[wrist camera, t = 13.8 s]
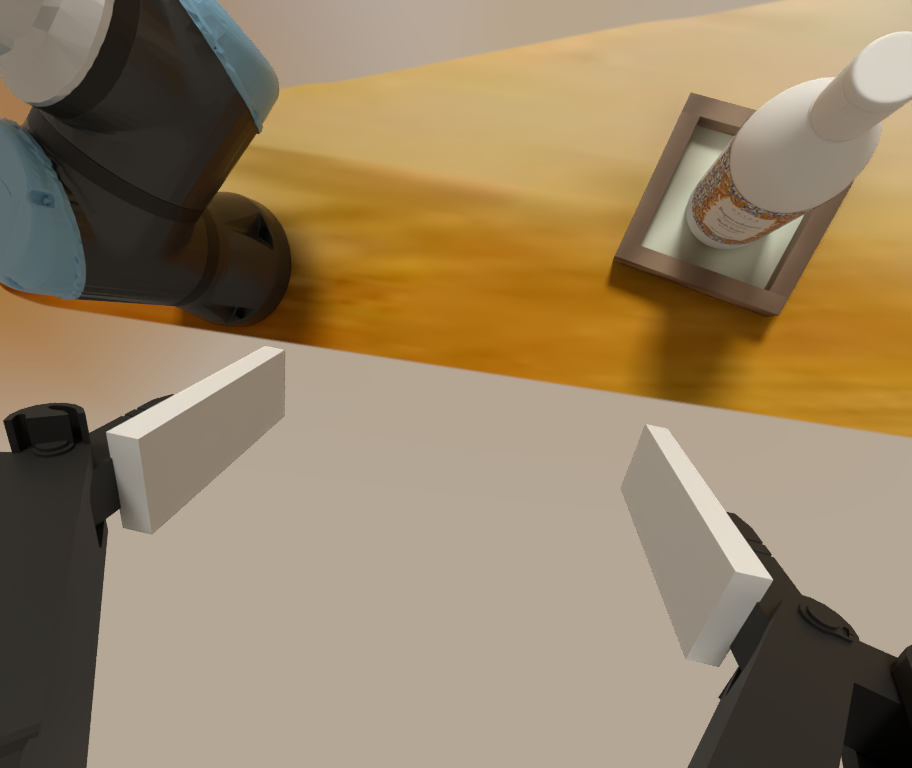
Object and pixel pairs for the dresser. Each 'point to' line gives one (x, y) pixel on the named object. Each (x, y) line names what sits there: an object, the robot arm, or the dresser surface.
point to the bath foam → (801, 147)
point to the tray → (692, 262)
